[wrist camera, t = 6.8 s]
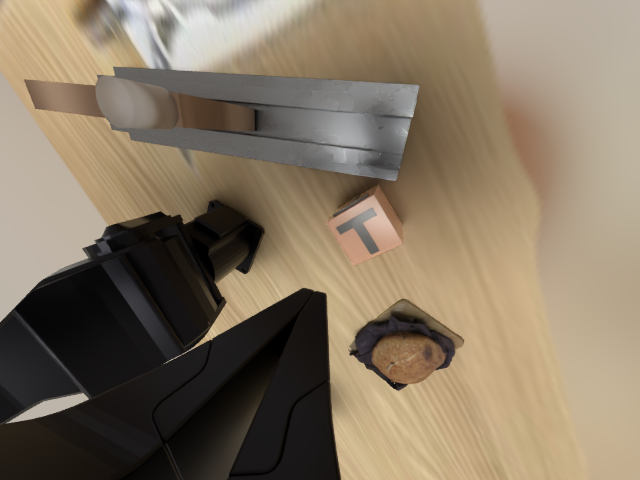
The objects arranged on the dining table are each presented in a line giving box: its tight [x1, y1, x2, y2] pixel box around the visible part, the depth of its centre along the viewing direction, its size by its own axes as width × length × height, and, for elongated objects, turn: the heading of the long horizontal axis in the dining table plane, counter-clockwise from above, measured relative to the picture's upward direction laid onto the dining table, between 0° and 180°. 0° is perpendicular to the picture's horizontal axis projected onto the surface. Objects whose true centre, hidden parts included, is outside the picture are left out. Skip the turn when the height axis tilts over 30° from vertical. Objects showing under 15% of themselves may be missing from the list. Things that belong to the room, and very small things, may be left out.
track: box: [97, 67, 420, 181], centre depth 18 cm, size 26×6×2 cm, turn 84°
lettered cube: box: [326, 185, 403, 266], centre depth 18 cm, size 4×4×4 cm
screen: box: [24, 75, 255, 131], centre depth 15 cm, size 12×2×9 cm, turn 84°
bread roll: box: [348, 299, 464, 391], centre depth 23 cm, size 11×8×4 cm
